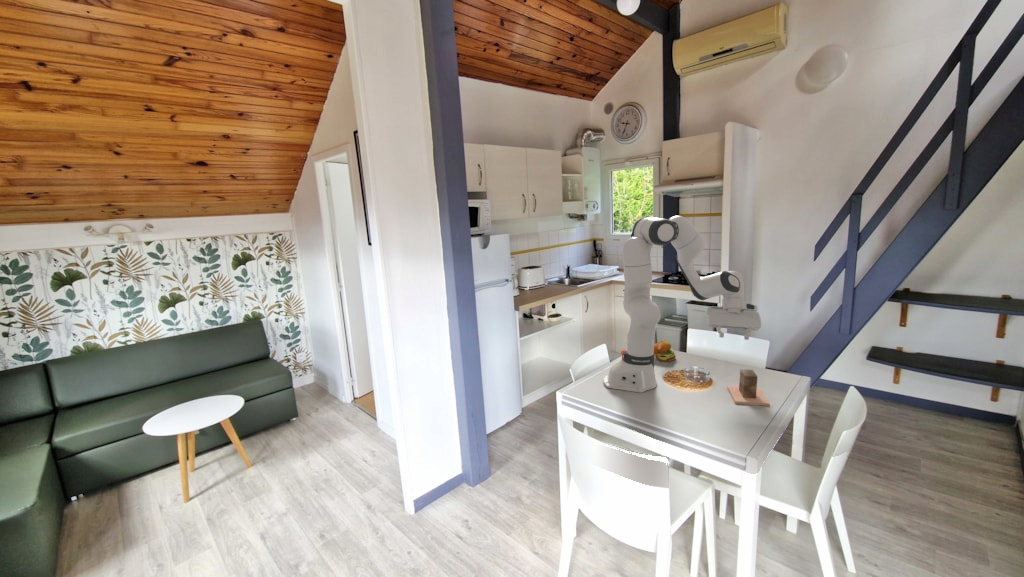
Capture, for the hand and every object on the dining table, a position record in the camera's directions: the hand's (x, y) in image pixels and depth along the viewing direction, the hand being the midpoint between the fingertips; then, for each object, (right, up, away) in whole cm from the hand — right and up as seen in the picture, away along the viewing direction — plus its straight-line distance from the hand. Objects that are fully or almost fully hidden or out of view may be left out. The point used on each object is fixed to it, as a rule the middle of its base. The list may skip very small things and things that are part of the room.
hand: (734, 338), depth 181 cm
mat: (+1, -22, -9) cm, 24 cm away
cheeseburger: (-17, -14, +34) cm, 41 cm away
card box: (+1, -21, -9) cm, 23 cm away
